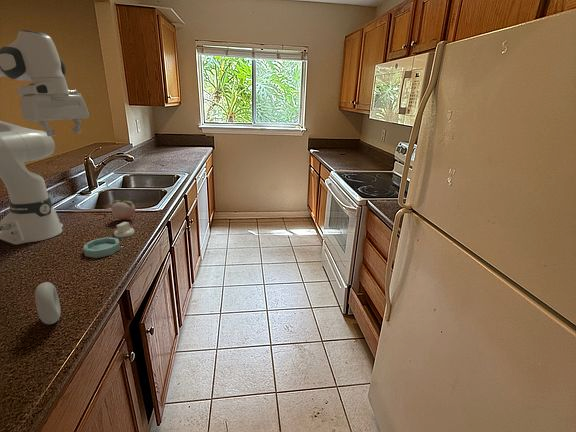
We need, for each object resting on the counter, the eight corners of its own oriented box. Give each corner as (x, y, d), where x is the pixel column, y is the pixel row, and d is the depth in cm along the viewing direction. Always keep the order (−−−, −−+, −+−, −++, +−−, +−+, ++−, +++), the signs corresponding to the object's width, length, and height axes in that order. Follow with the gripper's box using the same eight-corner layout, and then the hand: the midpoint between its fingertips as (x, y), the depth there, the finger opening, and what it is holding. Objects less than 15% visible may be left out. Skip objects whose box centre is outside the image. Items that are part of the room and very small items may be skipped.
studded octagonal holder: (77, 255, 107) (75, 248, 106) (102, 242, 117) (101, 235, 116) (103, 259, 104) (102, 252, 104) (127, 245, 114) (125, 239, 113)
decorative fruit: (109, 224, 133) (105, 201, 129) (117, 217, 140) (113, 196, 137) (133, 223, 134) (129, 201, 130) (139, 217, 141) (135, 195, 138)
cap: (110, 236, 122) (108, 226, 120) (123, 230, 128) (121, 219, 126) (125, 239, 120) (123, 228, 118) (138, 232, 126) (136, 221, 125)
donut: (46, 311, 79) (35, 276, 75) (62, 307, 81) (53, 273, 77) (42, 335, 71) (31, 298, 68) (61, 330, 73) (50, 293, 69)
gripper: (72, 91, 109) (84, 132, 113) (10, 89, 90) (27, 138, 94) (87, 89, 107) (98, 131, 111) (26, 87, 88) (43, 137, 93)
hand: (65, 134), depth 103 cm, fingers open, 8 cm apart
